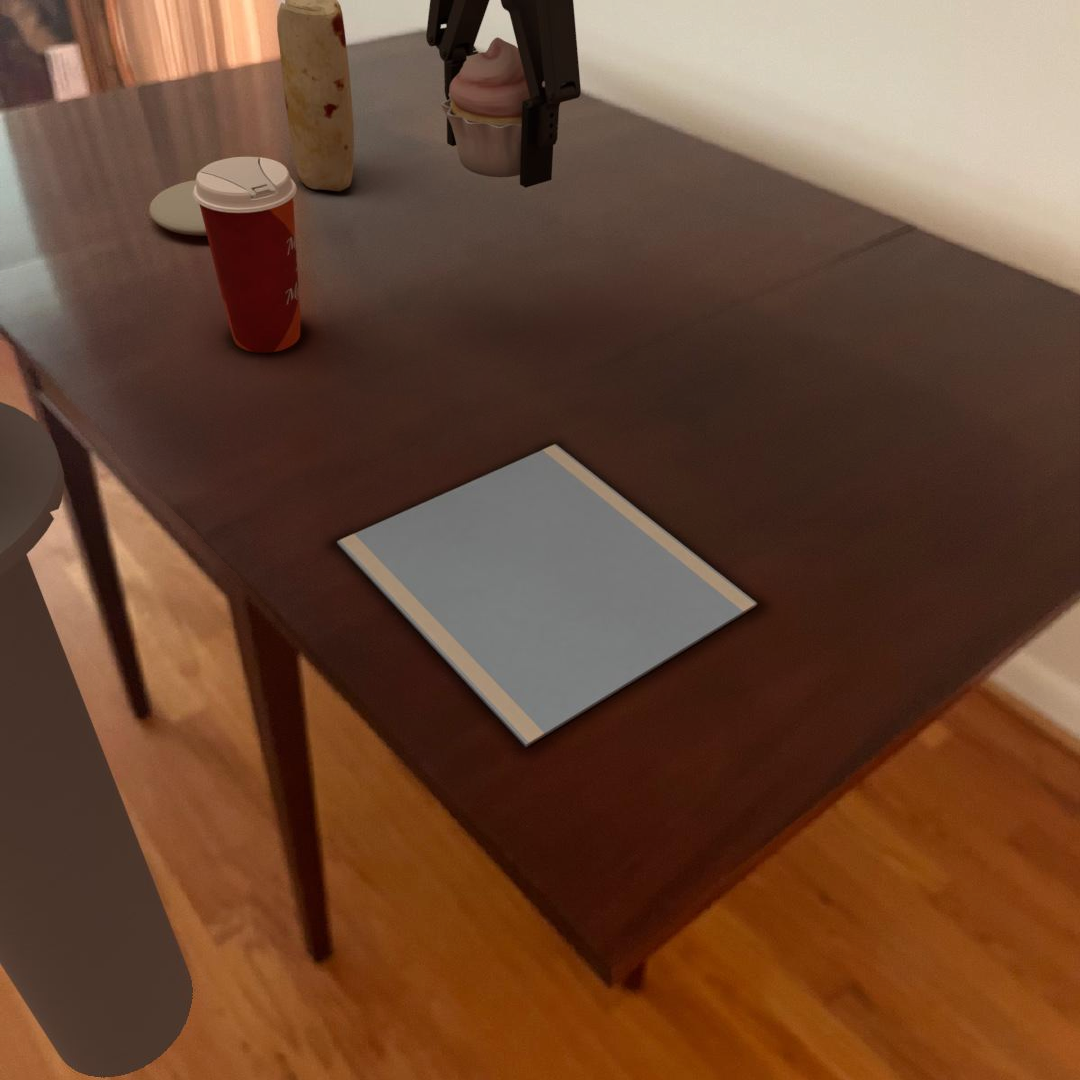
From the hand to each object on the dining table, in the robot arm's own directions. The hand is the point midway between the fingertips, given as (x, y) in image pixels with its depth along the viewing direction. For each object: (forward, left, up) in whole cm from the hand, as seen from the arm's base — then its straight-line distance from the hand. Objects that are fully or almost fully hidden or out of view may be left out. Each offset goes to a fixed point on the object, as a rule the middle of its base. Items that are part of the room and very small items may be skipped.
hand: (497, 161), depth 87 cm
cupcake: (0, 0, 0) cm, 0 cm away
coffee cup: (-10, -18, -16) cm, 26 cm away
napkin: (+29, -17, -16) cm, 37 cm away
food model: (-36, +3, -16) cm, 39 cm away
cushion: (-34, -12, -16) cm, 39 cm away
